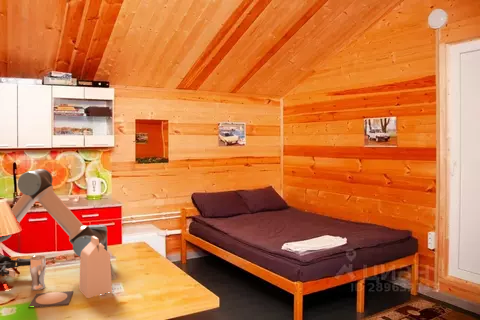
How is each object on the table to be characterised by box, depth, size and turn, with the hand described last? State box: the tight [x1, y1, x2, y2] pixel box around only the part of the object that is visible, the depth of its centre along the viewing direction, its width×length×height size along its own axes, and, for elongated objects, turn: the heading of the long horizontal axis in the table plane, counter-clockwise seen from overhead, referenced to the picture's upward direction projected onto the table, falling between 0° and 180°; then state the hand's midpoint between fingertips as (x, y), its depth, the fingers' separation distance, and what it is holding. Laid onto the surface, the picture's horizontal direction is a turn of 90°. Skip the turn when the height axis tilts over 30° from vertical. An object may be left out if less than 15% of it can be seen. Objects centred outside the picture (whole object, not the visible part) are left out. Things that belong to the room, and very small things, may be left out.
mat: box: [28, 290, 74, 308], centre depth 189 cm, size 16×14×1 cm
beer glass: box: [29, 255, 47, 291], centre depth 202 cm, size 7×7×15 cm
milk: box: [78, 236, 113, 299], centre depth 199 cm, size 12×12×26 cm
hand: (27, 269), depth 205 cm, fingers open, 13 cm apart
